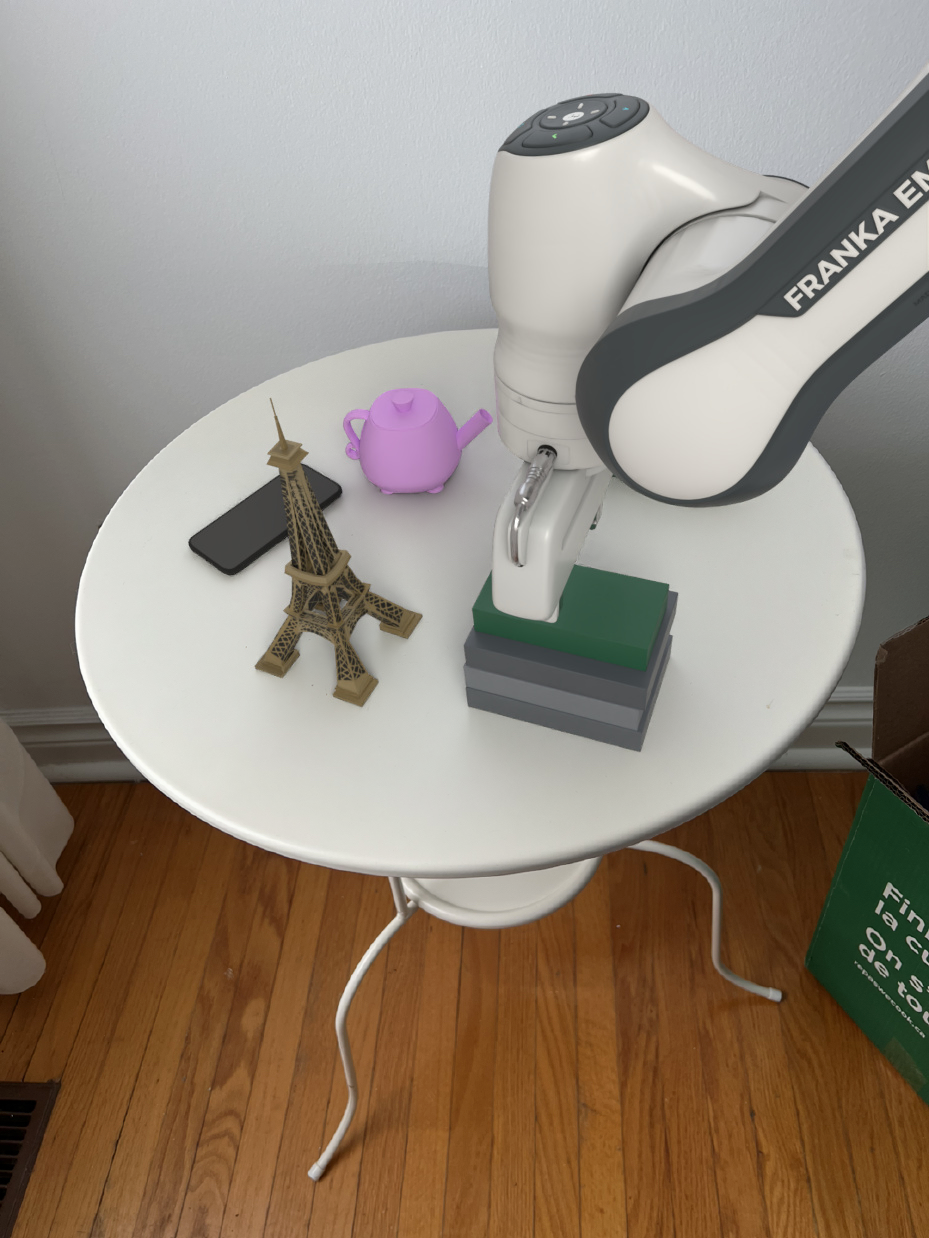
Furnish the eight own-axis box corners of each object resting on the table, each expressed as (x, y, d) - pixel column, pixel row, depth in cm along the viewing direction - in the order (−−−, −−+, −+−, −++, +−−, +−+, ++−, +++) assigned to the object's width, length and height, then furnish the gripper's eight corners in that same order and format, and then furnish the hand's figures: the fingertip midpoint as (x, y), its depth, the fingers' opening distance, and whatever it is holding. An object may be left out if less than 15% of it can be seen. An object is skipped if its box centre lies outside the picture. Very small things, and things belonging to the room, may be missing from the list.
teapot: (357, 443, 98) (341, 367, 91) (498, 439, 96) (493, 361, 89) (343, 508, 91) (324, 431, 84) (494, 505, 89) (488, 426, 82)
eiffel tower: (422, 616, 80) (378, 369, 62) (362, 707, 74) (293, 463, 56) (321, 584, 84) (250, 342, 66) (255, 668, 78) (157, 427, 59)
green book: (666, 606, 69) (669, 583, 67) (645, 671, 65) (647, 649, 63) (503, 571, 73) (501, 548, 71) (474, 630, 69) (471, 608, 67)
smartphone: (182, 541, 88) (298, 459, 95) (185, 548, 89) (300, 466, 96) (228, 574, 85) (346, 487, 91) (231, 581, 85) (348, 494, 92)
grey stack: (670, 654, 75) (678, 591, 70) (640, 752, 69) (646, 692, 64) (509, 617, 80) (505, 555, 74) (467, 706, 74) (459, 646, 68)
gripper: (569, 526, 47) (567, 689, 58) (662, 320, 60) (647, 484, 70) (456, 503, 49) (473, 665, 59) (569, 308, 61) (567, 470, 72)
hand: (568, 566), depth 65 cm, fingers open, 8 cm apart
